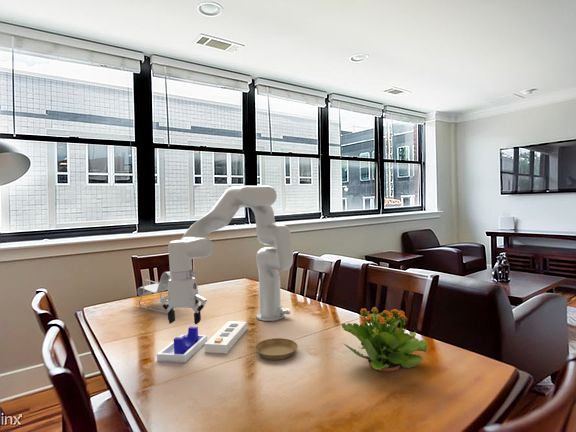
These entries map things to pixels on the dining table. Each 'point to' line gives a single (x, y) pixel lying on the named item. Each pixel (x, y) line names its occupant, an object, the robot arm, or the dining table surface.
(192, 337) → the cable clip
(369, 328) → the potted flower
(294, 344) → the plant saucer
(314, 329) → the dining table surface
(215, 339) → the power strip
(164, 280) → the chair
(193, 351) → the cable tray
